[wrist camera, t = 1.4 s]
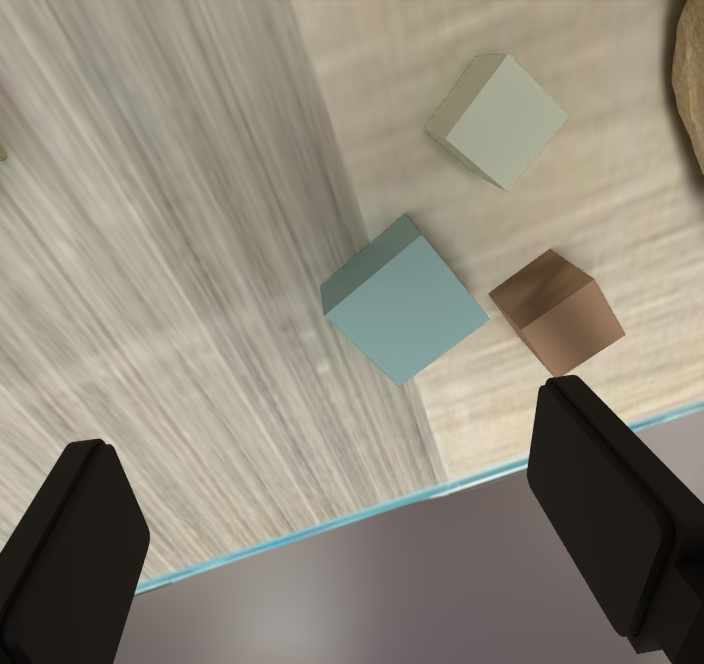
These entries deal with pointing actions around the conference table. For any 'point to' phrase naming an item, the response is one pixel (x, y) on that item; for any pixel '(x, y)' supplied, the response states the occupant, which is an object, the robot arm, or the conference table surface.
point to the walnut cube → (557, 312)
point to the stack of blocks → (2, 153)
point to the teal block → (400, 303)
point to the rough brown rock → (691, 74)
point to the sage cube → (496, 119)
